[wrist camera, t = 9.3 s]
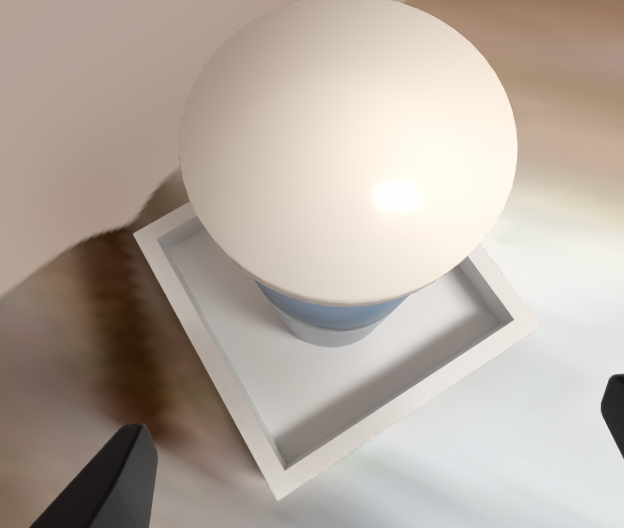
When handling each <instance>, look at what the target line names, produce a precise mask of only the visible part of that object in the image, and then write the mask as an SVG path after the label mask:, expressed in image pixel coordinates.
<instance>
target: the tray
mask: <svg viewBox="0 0 624 528" xmlns="http://www.w3.org/2000/svg"><path fill="white" fill-rule="evenodd" d="M133 235H134V237H135V239H136V241H137V243H138V245H139V246H140V248H141V250H142V252H143V254H144V256H145V257H146V259H147V261H148V263H149V265H150V267H151V269H152V270H153V272H154V274H155V276H156V278H157V280H158V281H159V283H160V285H161V287H162V289H163V291H164V293H165V294H166V296H167V298H168V300H169V302H170V304H171V305H172V307H173V309H174V311H175V313H176V315H177V317H178V318H179V320H180V322H181V324H182V326H183V328H184V329H185V331H186V333H187V335H188V337H189V339H190V341H191V342H192V344H193V346H194V348H195V350H196V352H197V353H198V355H199V357H200V359H201V361H202V363H203V365H204V366H205V368H206V370H207V372H208V374H209V376H210V377H211V379H212V381H213V383H214V385H215V387H216V389H217V390H218V392H219V394H220V396H221V398H222V400H223V401H224V403H225V405H226V407H227V409H228V411H229V413H230V414H231V416H232V418H233V420H234V422H235V424H236V425H237V427H238V429H239V431H240V433H241V435H242V437H243V438H244V440H245V442H246V444H247V446H248V448H249V449H250V451H251V453H252V455H253V457H254V459H255V461H256V462H257V464H258V466H259V468H260V470H261V472H262V474H263V475H264V477H265V479H266V481H267V483H268V485H269V486H270V488H271V490H272V492H273V494H274V496H275V498H276V499H277V501H279V500H280V499H282V498H283V497H285V496H286V495H288V494H289V493H291V492H292V491H294V490H295V489H297V488H298V487H300V486H301V485H303V484H304V483H306V482H307V481H309V480H310V479H312V478H313V477H315V476H316V475H318V474H319V473H321V472H322V471H324V470H325V469H327V468H328V467H330V466H331V465H333V464H334V463H336V462H338V461H339V460H341V459H342V458H344V457H345V456H347V455H348V454H350V453H351V452H353V451H354V450H356V449H357V448H359V447H360V446H362V445H363V444H365V443H366V442H368V441H369V440H371V439H372V438H374V437H375V436H377V435H378V434H380V433H381V432H383V431H384V430H386V429H387V428H389V427H390V426H392V425H393V424H395V423H396V422H398V421H399V420H401V419H402V418H404V417H405V416H407V415H408V414H410V413H411V412H413V411H414V410H416V409H417V408H419V407H420V406H422V405H423V404H425V403H426V402H428V401H429V400H431V399H432V398H434V397H435V396H437V395H438V394H440V393H441V392H443V391H444V390H446V389H447V388H449V387H450V386H452V385H453V384H455V383H456V382H458V381H459V380H461V379H462V378H464V377H465V376H467V375H468V374H470V373H471V372H473V371H475V370H476V369H478V368H479V367H481V366H482V365H484V364H485V363H487V362H488V361H490V360H491V359H493V358H494V357H496V356H497V355H499V354H500V353H502V352H503V351H505V350H506V349H508V348H509V347H511V346H512V345H514V344H515V343H517V342H518V341H520V340H521V339H523V338H524V337H526V336H527V335H529V334H530V333H532V332H533V331H535V330H536V329H538V328H539V327H541V325H540V323H539V322H538V321H537V319H536V318H535V317H534V315H533V314H532V313H531V311H530V310H529V309H528V307H527V306H526V304H525V303H524V302H523V300H522V299H521V298H520V296H519V295H518V294H517V292H516V291H515V290H514V288H513V287H512V286H511V284H510V283H509V282H508V280H507V279H506V278H505V276H504V275H503V274H502V272H501V271H500V270H499V268H498V267H497V266H496V264H495V263H494V262H493V260H492V259H491V258H490V256H489V255H488V254H487V252H486V251H485V250H484V248H483V247H482V246H481V244H479V245H478V246H477V247H476V248H475V249H474V250H473V251H472V252H471V253H470V254H469V255H468V256H467V257H466V258H465V259H464V260H462V261H461V262H460V263H459V264H458V265H457V266H455V267H454V268H453V269H452V270H451V271H449V272H448V273H447V274H445V275H444V276H442V277H441V278H440V279H438V280H437V281H436V282H434V283H432V284H431V285H429V286H427V287H425V288H423V289H421V290H419V291H417V292H416V293H413V294H411V295H409V296H408V297H407V298H406V299H405V300H404V301H403V302H402V303H401V304H400V305H399V306H398V307H397V308H396V309H395V310H394V311H393V312H392V313H391V314H390V315H389V316H388V317H387V318H386V319H385V320H384V321H382V322H381V323H380V324H379V325H378V326H377V327H376V328H375V329H374V330H373V331H372V332H371V333H370V334H369V335H367V336H366V337H365V338H363V339H361V340H359V341H358V342H356V343H353V344H350V345H347V346H342V347H321V346H316V345H313V344H310V343H308V342H306V341H303V340H302V339H300V338H298V337H297V336H295V335H294V334H293V333H292V332H291V331H290V330H289V329H288V328H287V327H286V326H285V325H284V323H283V322H282V321H281V319H280V318H279V316H278V315H277V313H276V312H275V310H274V309H273V307H272V306H271V304H270V303H269V301H268V300H267V298H266V297H265V295H264V294H263V292H262V291H261V289H260V288H259V286H258V285H257V283H256V282H255V280H254V279H253V278H252V277H250V276H249V275H247V274H246V273H245V272H244V271H243V270H242V269H240V268H239V267H238V266H237V265H236V264H234V263H233V262H232V261H231V259H230V258H229V257H228V256H227V255H226V254H225V253H224V252H223V251H222V249H221V248H220V247H219V246H218V245H217V243H216V242H215V241H214V239H213V238H212V237H211V235H210V234H209V232H208V231H207V230H206V228H205V227H204V225H203V224H202V222H201V221H200V219H199V218H198V216H197V214H196V212H195V210H194V208H193V206H192V204H191V202H188V203H186V204H184V205H182V206H181V207H179V208H177V209H175V210H174V211H172V212H170V213H168V214H167V215H165V216H163V217H161V218H160V219H158V220H156V221H154V222H152V223H151V224H149V225H147V226H145V227H144V228H142V229H140V230H138V231H137V232H135V233H133Z"/></svg>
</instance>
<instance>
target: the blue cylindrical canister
mask: <svg viewBox="0 0 624 528" xmlns="http://www.w3.org/2000/svg"><path fill="white" fill-rule="evenodd" d="M179 160H180V167H181V173H182V179H183V182H184V185H185V188H186V191H187V194H188V197H189V200H190V202H191V204H192V206H193V208H194V210H195V212H196V214H197V216H198V218H199V219H200V221H201V222H202V224H203V225H204V227H205V228H206V230H207V231H208V232H209V234H210V235H211V237H212V238H213V239H214V241H215V242H216V243H217V245H218V246H219V247H220V248H221V249H222V251H223V252H224V253H225V254H226V255H227V256H228V257H229V258H230V259H231V261H232V262H233V263H234V264H236V265H237V266H238V267H239V268H240V269H242V270H243V271H244V272H245V273H246V274H247V275H249V276H250V277H252V278H253V279H254V280H255V282H256V283H257V285H258V286H259V288H260V289H261V291H262V292H263V294H264V295H265V297H266V298H267V300H268V301H269V303H270V304H271V306H272V307H273V309H274V310H275V312H276V313H277V315H278V316H279V318H280V319H281V321H282V322H283V323H284V325H285V326H286V327H287V328H288V329H289V330H290V331H291V332H292V333H293V334H294V335H295V336H297V337H298V338H300V339H302V340H303V341H306V342H308V343H310V344H313V345H316V346H321V347H342V346H347V345H350V344H353V343H356V342H358V341H359V340H361V339H363V338H365V337H366V336H367V335H369V334H370V333H371V332H372V331H373V330H374V329H375V328H376V327H377V326H378V325H379V324H380V323H381V322H382V321H384V320H385V319H386V318H387V317H388V316H389V315H390V314H391V313H392V312H393V311H394V310H395V309H396V308H397V307H398V306H399V305H400V304H401V303H402V302H403V301H404V300H405V299H406V298H407V297H408V296H409V295H411V294H413V293H416V292H417V291H419V290H421V289H423V288H425V287H427V286H429V285H431V284H432V283H434V282H436V281H437V280H438V279H440V278H441V277H442V276H444V275H445V274H447V273H448V272H449V271H451V270H452V269H453V268H454V267H455V266H457V265H458V264H459V263H460V262H461V261H462V260H464V259H465V258H466V257H467V256H468V255H469V254H470V253H471V252H472V251H473V250H474V249H475V248H476V247H477V246H478V245H479V244H480V243H481V242H482V240H483V239H484V238H485V237H486V235H487V234H488V233H489V232H490V230H491V229H492V228H493V226H494V225H495V223H496V221H497V219H498V218H499V216H500V214H501V212H502V210H503V209H504V207H505V204H506V201H507V199H508V196H509V194H510V191H511V188H512V184H513V179H514V175H515V170H516V161H517V136H516V126H515V122H514V117H513V113H512V108H511V106H510V103H509V101H508V98H507V95H506V93H505V90H504V88H503V86H502V84H501V83H500V81H499V79H498V77H497V75H496V73H495V72H494V70H493V69H492V68H491V66H490V65H489V64H488V62H487V61H486V60H485V58H484V57H483V56H482V55H481V54H480V52H479V51H478V50H477V49H476V48H475V47H474V46H473V45H472V44H471V43H470V42H469V41H468V40H467V39H465V38H464V37H463V36H462V35H460V34H459V33H458V32H457V31H456V30H454V29H453V28H451V27H450V26H448V25H447V24H445V23H444V22H442V21H441V20H439V19H437V18H435V17H433V16H431V15H429V14H427V13H425V12H423V11H421V10H419V9H416V8H414V7H411V6H408V5H405V4H402V3H399V2H395V1H391V0H302V1H298V2H295V3H292V4H289V5H286V6H282V7H280V8H277V9H275V10H273V11H271V12H269V13H266V14H264V15H262V16H260V17H259V18H257V19H255V20H254V21H252V22H250V23H249V24H247V25H245V26H244V27H243V28H241V29H240V30H239V31H237V32H236V33H235V34H234V35H232V36H231V37H230V38H229V39H228V40H227V41H226V42H225V43H224V44H223V45H222V46H220V48H219V49H217V50H216V52H215V53H214V54H213V55H212V57H211V58H210V59H209V61H208V62H207V63H206V64H205V65H204V67H203V69H202V70H201V72H200V74H199V75H198V77H197V79H196V80H195V82H194V84H193V86H192V89H191V91H190V93H189V96H188V98H187V100H186V104H185V107H184V111H183V115H182V118H181V126H180V133H179Z"/></svg>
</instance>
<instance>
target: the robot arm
mask: <svg viewBox="0 0 624 528" xmlns="http://www.w3.org/2000/svg"><path fill="white" fill-rule="evenodd" d="M601 412H602V416H603V418H604V420H605V422H606V424H607V426H608V428H609V430H610V432H611V434H612V436H613V438H614V440H615V442H616V444H617V446H618V448H619V450H620V452H621V454H622V456H623V458H624V374H615V375H613V376H611V377H610V379H609V381H608V384H607V387H606V390H605V393H604V396H603V399H602V402H601ZM157 462H158V456H157V450H156V447H155V445H154V442H153V440H152V438H151V435H150V433H149V430H148V428H147V426H146V425H145V424H132V425H125V426H123V427H121V428H120V429H119V430H118V431H117V432H116V433H115V434H114V435H113V437H112V438H111V439H110V440H109V441H108V442H107V443H106V444H105V445H104V446H103V448H102V449H101V450H100V451H99V452H98V453H97V454H96V455H95V456H94V457H93V458H92V460H91V461H90V462H89V463H88V464H87V465H86V466H85V467H84V468H83V469H82V470H81V472H80V473H79V474H78V475H77V476H76V477H75V478H74V479H73V480H72V481H71V482H70V484H69V485H68V486H67V487H66V488H65V489H64V490H63V491H62V492H61V493H60V494H59V496H58V497H57V498H56V499H55V500H54V501H53V502H52V503H51V504H50V505H49V506H48V508H47V509H46V510H45V511H44V512H43V513H42V514H41V515H40V516H39V517H38V518H37V520H36V521H35V522H34V523H33V524H32V525H31V526H30V527H29V528H149V523H150V516H151V508H152V501H153V493H154V485H155V478H156V470H157Z"/></svg>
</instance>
